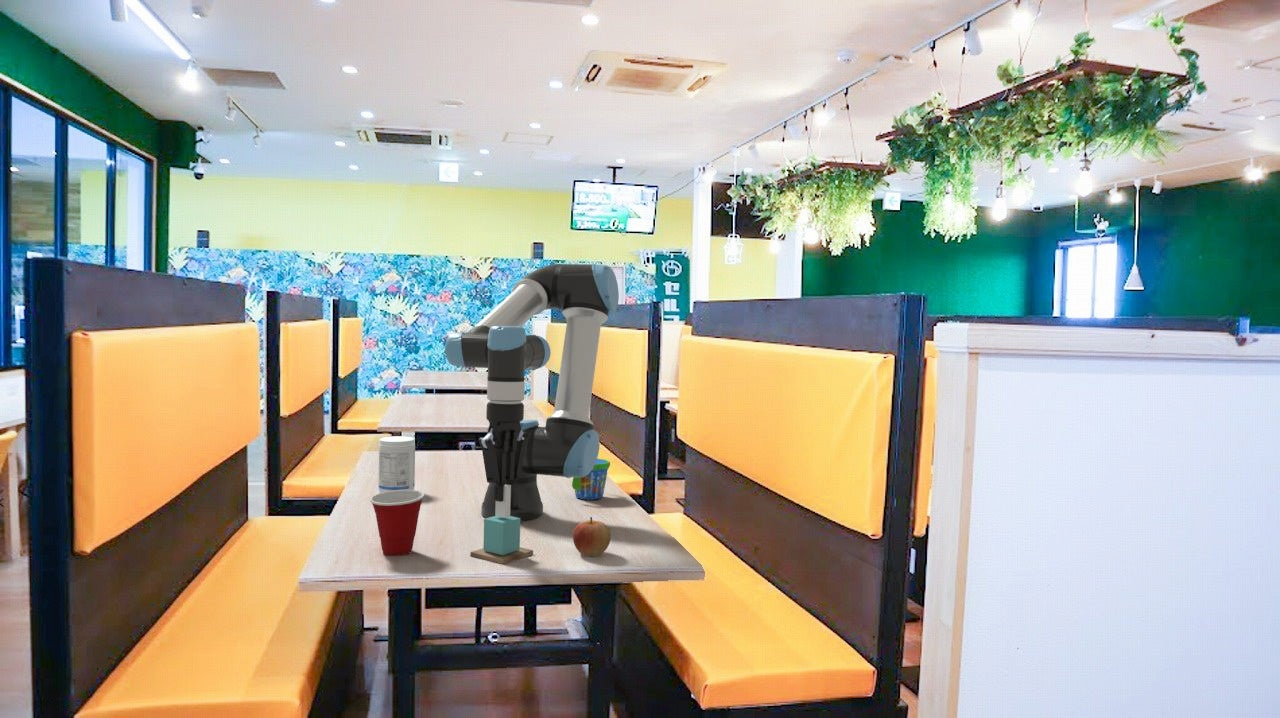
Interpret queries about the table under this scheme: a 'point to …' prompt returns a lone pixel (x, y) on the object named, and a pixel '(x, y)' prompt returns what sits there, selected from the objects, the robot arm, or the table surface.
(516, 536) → the teal rectangular block
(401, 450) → the supplement tub
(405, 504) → the plastic cup
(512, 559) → the peg stand
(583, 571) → the table surface
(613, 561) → the table surface
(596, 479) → the snack cup
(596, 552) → the apple
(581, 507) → the table surface
